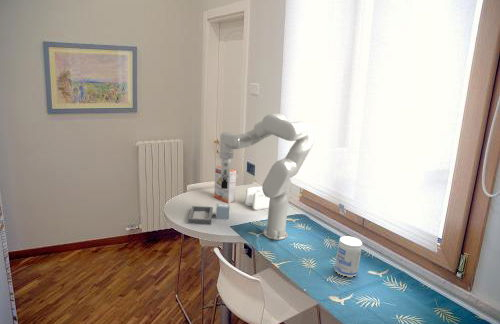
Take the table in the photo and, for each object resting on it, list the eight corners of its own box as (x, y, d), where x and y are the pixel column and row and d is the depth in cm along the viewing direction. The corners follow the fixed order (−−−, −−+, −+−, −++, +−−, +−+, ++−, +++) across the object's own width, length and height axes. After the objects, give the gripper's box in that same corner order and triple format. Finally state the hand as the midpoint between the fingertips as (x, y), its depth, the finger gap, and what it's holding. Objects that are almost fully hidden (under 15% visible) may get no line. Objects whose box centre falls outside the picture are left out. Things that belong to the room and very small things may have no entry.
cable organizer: (264, 202, 237) (266, 185, 234) (274, 208, 228) (276, 190, 225) (244, 205, 228) (246, 187, 226) (254, 211, 220) (255, 193, 217)
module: (228, 219, 205) (229, 207, 203) (216, 218, 204) (216, 206, 203) (228, 216, 210) (229, 204, 208) (216, 215, 209) (217, 203, 208)
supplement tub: (332, 274, 155) (336, 242, 152) (336, 264, 164) (341, 233, 160) (355, 280, 151) (360, 247, 148) (359, 270, 160) (364, 239, 157)
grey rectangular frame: (210, 224, 196) (211, 220, 195) (188, 223, 195) (188, 219, 195) (212, 211, 215) (212, 206, 215) (191, 209, 215) (191, 205, 214)
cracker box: (213, 197, 239) (215, 166, 234) (220, 195, 243) (222, 165, 238) (227, 203, 229) (229, 171, 225) (234, 202, 234) (237, 170, 229)
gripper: (233, 159, 191) (231, 191, 195) (233, 152, 208) (231, 181, 212) (218, 158, 191) (216, 190, 195) (219, 151, 208) (218, 180, 212)
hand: (224, 185), depth 203 cm, fingers open, 9 cm apart
